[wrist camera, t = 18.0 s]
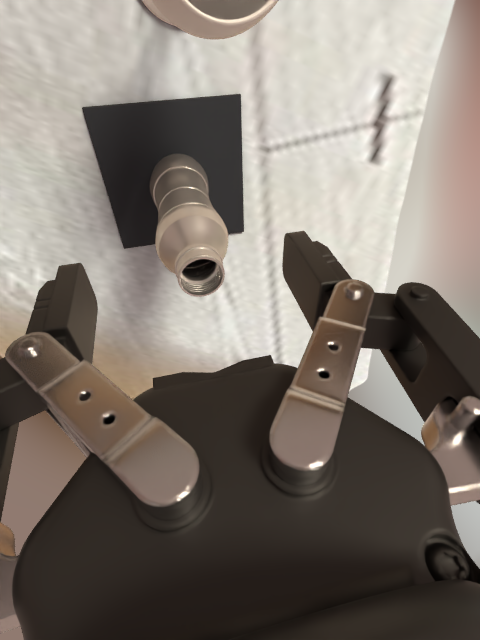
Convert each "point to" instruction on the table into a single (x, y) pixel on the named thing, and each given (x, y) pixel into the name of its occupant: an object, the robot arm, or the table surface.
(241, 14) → the wineglass
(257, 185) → the table surface
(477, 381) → the robot arm
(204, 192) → the plastic bottle
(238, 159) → the felt mat
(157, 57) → the table surface
